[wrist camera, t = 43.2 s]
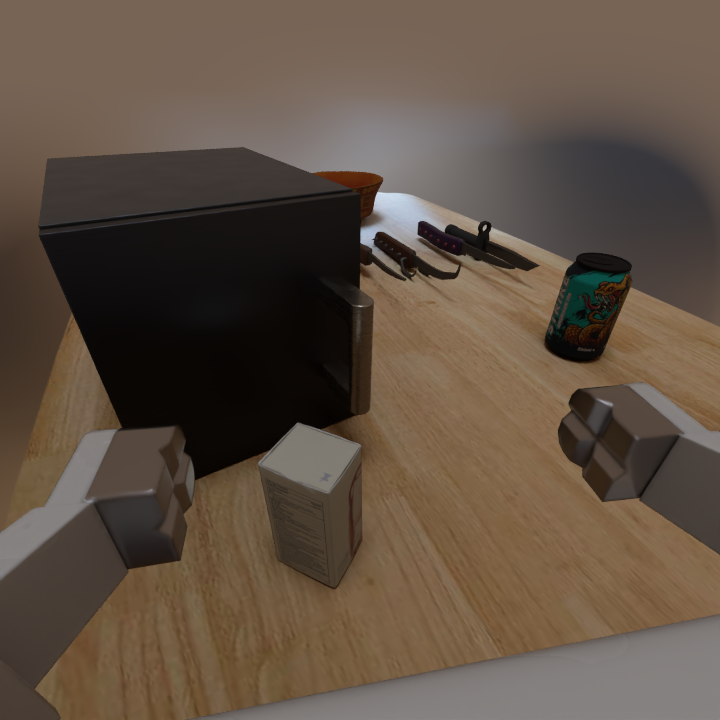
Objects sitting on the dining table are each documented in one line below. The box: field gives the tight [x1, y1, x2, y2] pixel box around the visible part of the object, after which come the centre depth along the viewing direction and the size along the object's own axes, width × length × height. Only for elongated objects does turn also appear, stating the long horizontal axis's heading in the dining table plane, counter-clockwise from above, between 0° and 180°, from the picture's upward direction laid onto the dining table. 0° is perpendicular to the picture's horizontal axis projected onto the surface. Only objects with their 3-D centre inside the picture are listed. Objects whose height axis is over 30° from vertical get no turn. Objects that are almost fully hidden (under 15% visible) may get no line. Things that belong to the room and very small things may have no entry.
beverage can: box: [545, 253, 632, 361], centre depth 50 cm, size 7×7×12 cm
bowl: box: [312, 171, 383, 220], centre depth 99 cm, size 21×21×10 cm
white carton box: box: [258, 423, 362, 588], centre depth 27 cm, size 5×4×10 cm
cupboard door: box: [39, 192, 374, 479], centre depth 30 cm, size 7×20×22 cm, turn 121°
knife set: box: [360, 221, 540, 281], centre depth 73 cm, size 35×33×8 cm
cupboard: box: [38, 147, 353, 230], centre depth 42 cm, size 26×20×22 cm
